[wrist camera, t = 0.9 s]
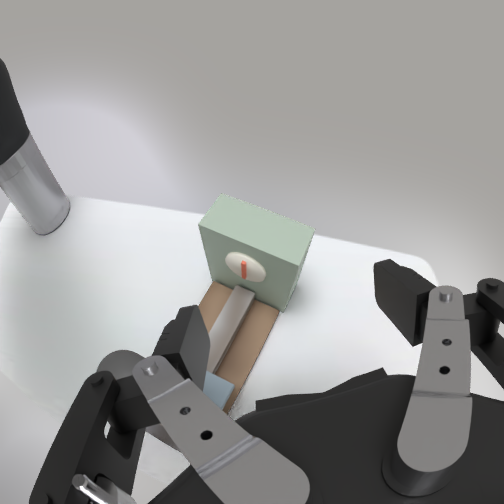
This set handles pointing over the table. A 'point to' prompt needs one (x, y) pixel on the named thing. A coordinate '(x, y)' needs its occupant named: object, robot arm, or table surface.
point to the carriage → (125, 360)
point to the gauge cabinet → (254, 249)
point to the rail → (243, 338)
